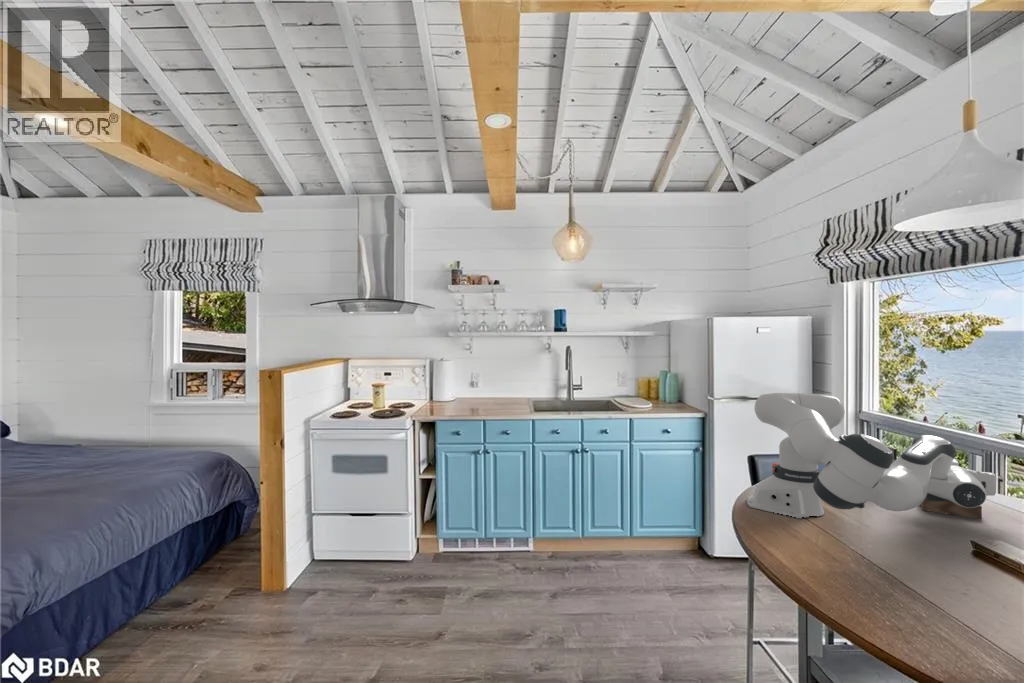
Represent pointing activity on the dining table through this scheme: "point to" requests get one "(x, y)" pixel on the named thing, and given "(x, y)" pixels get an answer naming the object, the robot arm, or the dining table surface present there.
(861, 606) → the dining table surface
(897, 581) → the dining table surface
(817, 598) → the dining table surface
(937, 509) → the stand
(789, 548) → the dining table surface
